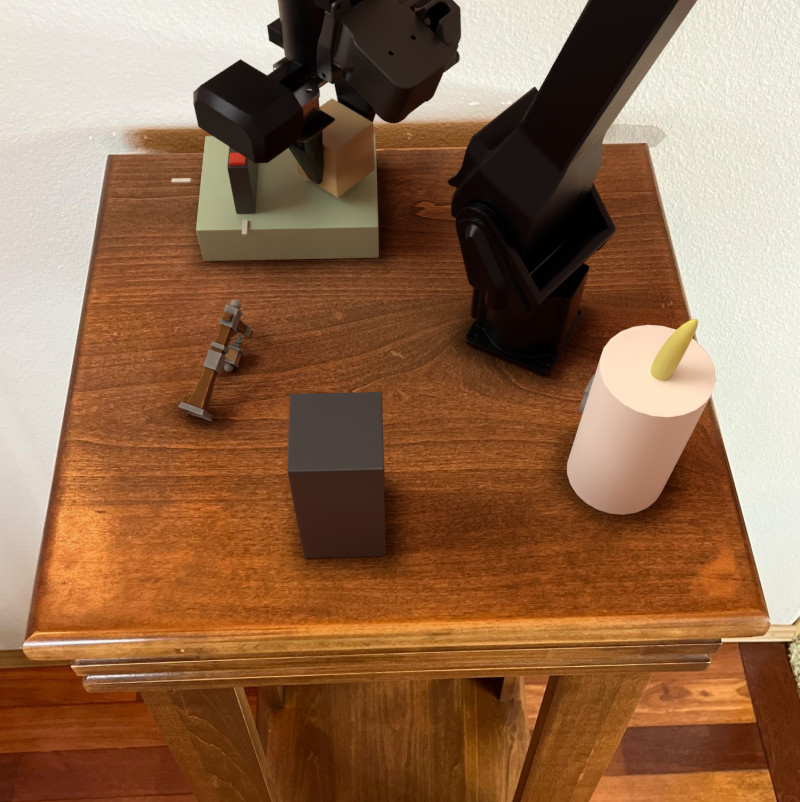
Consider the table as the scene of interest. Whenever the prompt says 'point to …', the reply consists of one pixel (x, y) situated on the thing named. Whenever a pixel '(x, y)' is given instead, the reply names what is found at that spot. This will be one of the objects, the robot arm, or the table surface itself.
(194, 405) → the wooden lantern post
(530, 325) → the robot arm
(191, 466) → the table surface
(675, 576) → the table surface
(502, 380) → the table surface
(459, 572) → the table surface
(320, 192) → the base
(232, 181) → the dark grey panel
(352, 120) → the block
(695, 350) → the candle
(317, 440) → the stand
